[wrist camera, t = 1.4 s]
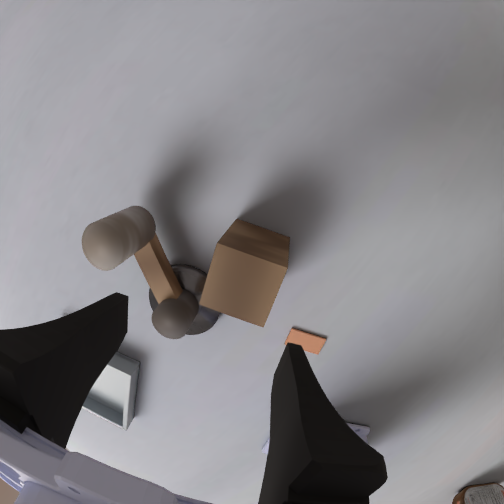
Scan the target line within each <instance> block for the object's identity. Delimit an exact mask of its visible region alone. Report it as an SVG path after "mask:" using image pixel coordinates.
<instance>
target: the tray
mask: <svg viewBox="0 0 504 504" xmlns="http://www.w3.org/2000/svg"><path fill="white" fill-rule="evenodd" d="M139 367H140V362H138V361H136V360H134V359H132V358H129V357H127V356H125V355H123V354H121V353H119V352H116V353H115V354H114V356H113V357H112V359H111V360H110V362H109V363H108V364H107V366H106V367H105V369H104V370H103V372H102V373H101V374H100V376H99V377H98V379H97V380H96V382H95V383H94V385H93V386H92V388H91V390H90V392H89V394H88V396H87V398H86V400H85V402H84V404H83V406H82V408H83V409H85V410H87V411H89V412H90V413H92V414H94V415H96V416H98V417H100V418H102V419H104V420H106V421H108V422H110V423H112V424H114V425H116V426H118V427H120V428H122V429H124V430H126V431H127V429H128V427H129V425H130V423H131V422H132V420H133V418H134V408H135V399H136V390H137V382H138V374H139Z"/></svg>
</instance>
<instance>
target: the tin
mask: <svg viewBox="0 0 504 504" xmlns="http://www.w3.org/2000/svg"><path fill="white" fill-rule="evenodd" d="M452 504H504V487H503V486H501V485H500V484H498V483H488V484H480V485H471V486H468V487H466V488H464V489H463V490H462V491H461V492H460V493H458V494H457V495H456V496H455V497H454V499H453V502H452Z"/></svg>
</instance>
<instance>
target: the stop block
mask: <svg viewBox="0 0 504 504" xmlns="http://www.w3.org/2000/svg"><path fill="white" fill-rule="evenodd" d="M289 242H290V237H287V236H284V235H282V234H279V233H276V232H273V231H270V230H268V229H265V228H262V227H259V226H256V225H253V224H251V223H248V222H245V221H242V220H239V219H236V220H235V221H234V223H233V224H232V225H231V226H230V228H229V229H228V230H227V231H226V232H225V234H224V235H223V236H222V237H221V239H220V240H219V241H218V242H217V245H216V248H215V251H214V255H213V258H212V262H211V265H210V268H209V272H208V275H207V279H206V282H205V285H204V289H203V292H202V296H201V299H200V303H199V304H200V305H202V306H205V307H208V308H210V309H213V310H216V311H218V312H221V313H224V314H227V315H229V316H232V317H235V318H238V319H241V320H244V321H246V322H249V323H252V324H255V325H258V326H261V327H264V325H265V322H266V320H267V318H268V315H269V313H270V310H271V308H272V306H273V303H274V301H275V298H276V296H277V293H278V291H279V288H280V286H281V284H282V281H283V279H284V276H285V274H286V271H287V269H288V257H289Z"/></svg>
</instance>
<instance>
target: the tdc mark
mask: <svg viewBox="0 0 504 504" xmlns="http://www.w3.org/2000/svg"><path fill="white" fill-rule="evenodd" d="M325 341H326V338H322V337H319V336H316V335H313V334H310V333H306V332H303V331H300V330H297V329H294V328H292V329H291V331H290V333H289V335H288V337H287V339H286V341H285V345H287V343H288V342H290V343H294V344H298V345H301V346H302V347H303V350H305V351H308V352H311V353H314V354H319V352H320V350H321V348H322V346H323V345H324V343H325Z"/></svg>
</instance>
